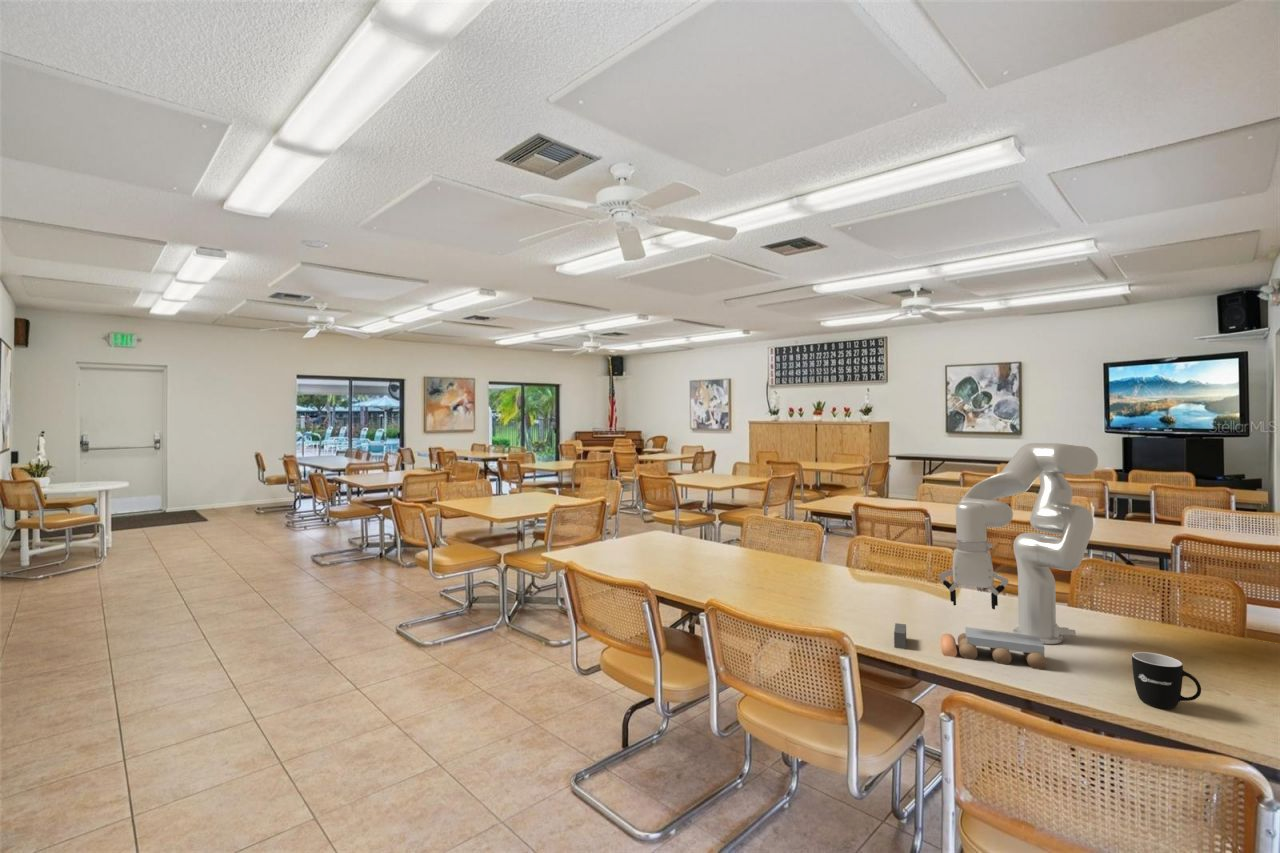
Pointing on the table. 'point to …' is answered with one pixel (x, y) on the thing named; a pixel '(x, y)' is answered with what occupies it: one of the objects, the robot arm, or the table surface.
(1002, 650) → the roller mid
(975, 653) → the roller
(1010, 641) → the slab
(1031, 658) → the roller
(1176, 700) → the mug
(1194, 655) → the table surface
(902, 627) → the block
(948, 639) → the roller
